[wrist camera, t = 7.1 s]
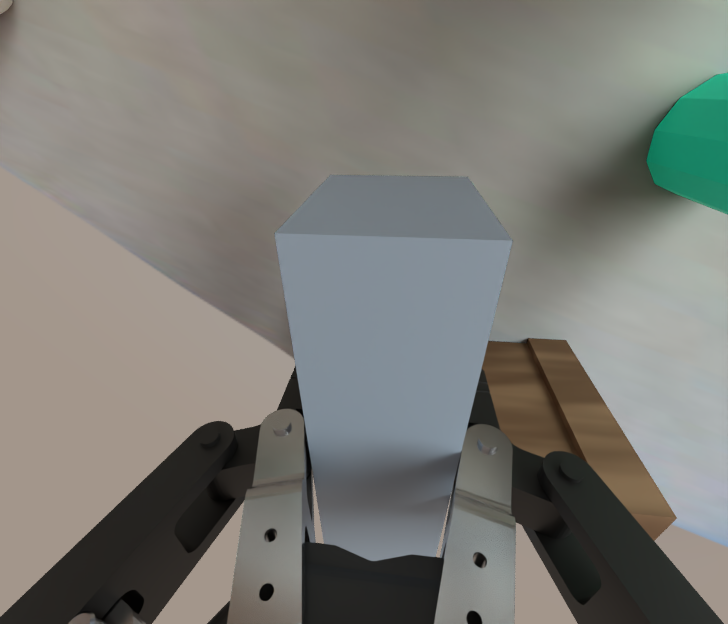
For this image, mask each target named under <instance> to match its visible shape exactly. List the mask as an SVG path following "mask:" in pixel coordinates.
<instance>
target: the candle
mask: <svg viewBox="0 0 728 624" xmlns="http://www.w3.org/2000/svg"><path fill="white" fill-rule="evenodd" d="M646 162H647V165H648V167H649V170H650V173H651V175H652V178H653V181H654V184H656V185H658V186H660V187H662V188H664V189H666V190H668V191H670V192H673V193H675V194H677V195H679V196H682V197H684V198H687V199H689V200H692V201H695V202H697V203H700V204H702V205H705V206H707V207H710V208H712V209H715V210H718V211H720V212H723V213H725V214H728V73H724V74H718V75H715V76H714V77H712V78H711V79H709V80H708V81H706V82H704V83H703V84H701V85H700V86H698V87H697V88H695V89H693V90H692V91H690V92H689V93H687V94H686V95H684V96H682V97H681V98H680V99H679V100H678V101H677V102H676V104H675V105H674V106H673V107H672V109H671V110H670V111H669V112H668V114H667V115H666V116H665V118H664V119H663V120H662V121H661V123H660V124H659V125H658V126H657V128H656V129H655V130H654V134H653V138H652V141H651V145H650V149H649V152H648V156H647V160H646Z"/></svg>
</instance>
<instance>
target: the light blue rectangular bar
mask: <svg viewBox="0 0 728 624" xmlns="http://www.w3.org/2000/svg"><path fill="white" fill-rule="evenodd" d="M274 234H275V240H276V247H277V253H278V259H279V265H280V271H281V278H282V284H283V290H284V296H285V303H286V309H287V315H288V321H289V328H290V334H291V340H292V346H293V353H294V359H295V365H296V371H297V378H298V384H299V390H300V396H301V402H302V409H303V415H304V421H305V427H306V434H307V440H308V446H309V452H310V459H311V465H312V471H313V477H314V483H315V489H316V496H317V502H318V509H319V514H320V521H321V527H322V532H323V539H324V544H329V545H336V546H338V547H340V548H343V549H345V550H347V551H349V552H352V553H354V554H356V555H358V556H361V557H363V558H365V559H367V560H370V561H378V560H384V559H389V558H395V557H400V556H405V555H411V554H413V555H422V556H430V557H436V553H437V549H438V544H439V541H440V537H441V533H442V529H443V524H444V520H445V516H446V512H447V508H448V504H449V500H450V496H451V492H452V488H453V483H454V479H455V475H456V471H457V467H458V463H459V459H460V455H461V451H462V447H463V442H464V438H465V434H466V430H467V426H468V422H469V418H470V414H471V410H472V406H473V402H474V397H475V393H476V389H477V385H478V381H479V377H480V373H481V369H482V365H483V361H484V356H485V352H486V348H487V344H488V340H489V336H490V332H491V328H492V324H493V320H494V316H495V311H496V307H497V303H498V299H499V295H500V291H501V287H502V283H503V279H504V275H505V270H506V266H507V262H508V258H509V254H510V250H511V246H512V242H513V240H512V239H511V237H510V236H509V235H508V233H507V232H506V230H505V229H504V227H503V226H502V225H501V223H500V222H499V220H498V219H497V218H496V216H495V215H494V213H493V212H492V210H491V209H490V208H489V206H488V205H487V203H486V202H485V201H484V199H483V198H482V196H481V195H480V193H479V192H478V191H477V189H476V188H475V186H474V185H473V184H472V182H471V181H470V179H469V178H468V177H451V176H376V175H330V176H329V177H328V178H327V179H326V180H325V181H324V182H323V183H322V184H321V185H320V186H319V187H318V188H317V189H316V190H315V191H314V192H313V193H312V194H311V196H310V197H309V198H308V199H307V200H306V201H305V202H304V203H303V204H302V205H301V206H300V207H299V208H298V209H297V210H296V211H295V212H294V213H293V214H292V215H291V216H290V217H289V218H288V220H287V221H286V222H285V223H284V224H283V225H282V226H281V227H280V228H279V229H278V230H277V231H276V232H275V233H274Z"/></svg>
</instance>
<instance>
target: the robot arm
mask: <svg viewBox="0 0 728 624" xmlns="http://www.w3.org/2000/svg"><path fill="white" fill-rule="evenodd" d="M244 500H245V501H244ZM243 501H244V508H243V515H242V522H241V529H240V536H239V543H238V550H237V557H236V564H235V571H234V578H233V585H232V592H231V599H230V601H229V602H228V603H227V604H226V605H225V606H224V607H223V608H222V609H221V610H220V611H219V612H218V613H217V614H216V615H215V616H214V617H213V618H212V619H211V620H210V621H209V622H208V623H207V624H514V613H515V547H516V546H515V545H516V523H519V524H521V525H522V526H523V528H524V530H525V531H526V533H527V535H528V537H529V539H530V540H531V542H532V544H533V546H534V547H535V549H536V551H537V553H538V554H539V556H540V558H541V560H542V561H543V563H544V565H545V567H546V568H547V570H548V572H549V574H550V575H551V577H552V579H553V581H554V582H555V584H556V586H557V588H558V590H559V591H560V593H561V595H562V596H563V598H564V600H565V602H566V604H567V605H568V607H569V609H570V611H571V612H572V614H573V616H574V618H575V619H576V621H577V623H578V624H724V623H723V622H722V621H721V620H720V619H719V617H718V616H717V615H716V614H715V613H714V612H713V610H712V609H711V608H710V607H709V606H708V605H707V603H706V602H705V601H704V600H703V598H702V597H701V596H700V595H699V594H698V593H697V591H695V589H694V588H693V587H692V586H691V584H690V583H689V582H688V581H687V580H686V578H685V577H684V576H683V575H682V574H681V572H680V571H679V570H678V569H677V568H676V567H675V565H674V564H673V563H672V562H671V561H670V560H669V558H668V557H667V556H666V555H665V554H664V552H663V551H662V550H661V549H660V548H659V546H658V545H657V544H656V543H655V542H654V541H653V539H652V538H651V537H650V536H649V535H648V533H647V532H646V531H645V530H644V529H643V528H642V526H641V525H640V524H639V523H638V522H637V520H636V519H635V518H634V517H633V516H632V515H631V513H630V512H629V511H628V510H627V509H626V507H625V506H624V505H623V504H622V503H621V501H620V500H619V499H618V498H617V497H616V496H615V494H614V493H613V492H612V491H611V490H610V488H609V487H608V486H607V485H606V484H605V483H604V481H603V480H602V479H601V478H600V477H599V475H598V474H597V473H596V472H595V471H594V470H593V468H592V467H591V466H590V465H589V464H588V463H587V462H585V461H584V460H583V459H581V458H580V457H578V456H576V455H574V454H572V453H569V452H565V451H553V452H550V453H549V454H547V455H546V456H545V458H544V457H541V456H538V455H536V454H533V453H530V452H527V451H525V450H522V449H520V448H518V447H517V446H515V445H514V444H512V443H511V442H510V440H509V438H508V437H507V436H506V435H505V434H504V433H503V432H502V431H501V429H500V427H499V423H498V419H497V416H496V412H495V408H494V405H493V401H492V397H491V394H490V390H489V386H488V384H487V379H486V375H485V371H484V370H483V369H481V373H480V377H479V381H478V385H477V389H476V393H475V397H474V402H473V406H472V410H471V414H470V418H469V422H468V426H467V430H466V434H465V438H464V442H463V447H462V451H461V455H460V459H459V463H458V467H457V471H456V475H455V479H454V483H453V488H452V493H451V499H450V505H449V510H448V516H447V522H446V527H445V533H444V539H443V544H442V549H441V555H440V558H437V557H430V556H422V555H413V554H411V555H405V556H400V557H395V558H389V559H384V560H378V561H370V560H367V559H365V558H363V557H361V556H358V555H356V554H354V553H352V552H349V551H347V550H345V549H343V548H340V547H338V546H336V545H329V544H321V543H315V531H314V508H313V506H314V505H313V471H312V465H311V459H310V452H309V446H308V440H307V434H306V427H305V421H304V415H303V409H302V402H301V396H300V390H299V384H298V378H297V371H296V366H295V368H294V371H293V373H292V375H291V379H290V380H289V383H288V385H287V387H286V390H285V392H284V395H283V397H282V400H281V402H280V404H279V407H278V409H277V411H275V412H273V413H271V414H269V415H268V416H267V417H266V418H265V419H264V421H263V422H262V424H261V425H258V426H255V427H250V428H245V429H240V430H236V431H234V430H233V428H232V426H231V425H230V424H228V423H226V422H222V421H215V422H211V423H208V424H205V425H203V426H201V427H200V428H198V429H197V430H196V431H194V432H193V433H192V434H191V435H190V436H189V437H188V438H187V439H186V440H185V441H184V442H183V443H182V444H181V445H180V446H179V447H178V448H177V449H176V450H175V451H174V452H173V453H171V454H170V455H169V456H168V457H167V458H166V459H165V461H163V462H162V463H161V464H160V465H159V466H158V467H157V468H156V469H155V470H154V471H153V472H152V473H151V474H150V475H148V476H147V478H145V479H144V480H143V481H142V482H141V483H140V484H139V485H138V486H137V487H136V488H135V489H134V490H133V491H132V492H131V493H130V494H129V495H128V496H127V497H126V498H124V499H123V500H122V501H121V502H120V503H119V504H118V505H117V506H116V507H115V508H114V509H113V510H112V511H111V512H110V513H109V514H108V515H107V516H106V517H105V518H103V520H101V522H99V523H98V524H97V525H96V526H95V527H94V528H93V529H92V530H91V531H90V532H89V533H88V534H87V535H86V536H85V537H84V538H83V539H82V540H81V541H79V542H78V543H77V544H76V545H75V546H74V547H73V548H72V549H71V550H70V551H69V552H68V553H67V554H66V555H65V556H64V557H63V558H62V559H61V560H59V562H57V563H56V564H55V565H54V566H53V567H52V568H51V569H50V570H49V571H48V572H47V573H46V574H45V575H44V576H43V577H42V578H41V579H40V580H39V581H38V582H37V583H36V584H34V585H33V586H32V587H31V588H30V589H29V590H28V591H27V592H26V593H25V594H24V595H23V596H22V597H21V598H20V599H19V600H18V601H17V602H16V603H15V604H13V605H12V607H10V608H9V609H8V610H7V611H6V612H5V613H4V614H3V615H2V616H1V617H0V624H152V623H153V621H154V620H155V619H156V617H157V616H158V615H159V613H160V612H161V611H162V609H163V608H164V607H165V605H166V604H167V603H168V601H169V600H170V599H171V597H172V596H173V595H174V593H175V592H176V591H177V589H178V588H179V587H180V585H181V584H182V583H183V581H184V580H185V579H186V577H187V576H188V575H189V573H190V572H191V571H192V569H193V568H194V567H195V565H196V564H197V563H198V561H199V560H200V559H201V557H202V556H203V555H204V553H205V552H206V551H207V549H208V548H209V547H210V545H211V544H212V543H213V541H214V540H215V539H216V537H217V536H218V535H219V533H220V532H221V531H222V529H223V528H224V527H225V525H226V524H227V523H228V521H229V520H230V519H231V517H232V516H233V515H234V513H235V512H236V511H237V509H238V508H239V507H240V505H241V504H242V503H243Z"/></svg>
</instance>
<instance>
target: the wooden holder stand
mask: <svg viewBox="0 0 728 624" xmlns="http://www.w3.org/2000/svg"><path fill="white" fill-rule="evenodd" d="M482 369H483V370H484V371H485V375H486V379H487V384H488V386H489V390H490V394H491V397H492V401H493V405H494V408H495V412H496V416H497V419H498V423H499V427H500V429H501V431H502V432H503V433H504V434H505V435H506V436H507V437H508V438H509V440H510V442H511V443H512V444H514V445H515V446H517V447H518V448H520V449H522V450H525V451H527V452H530V453H533V454H536V455H538V456H541V457H544V458H545V456H546V455H547V454H549V453H550V452H553V451H565V452H569V453H572V454H574V455H576V456H578V457H580V458H581V459H583V460H584V461H585V462H587V463H588V464H589V465H590V466H591V467H592V468H593V470H594V471H595V472H596V473H597V474H598V475H599V477H600V478H601V479H602V480H603V481H604V483H605V484H606V485H607V486H608V487H609V488H610V490H611V491H612V492H613V493H614V494H615V496H616V497H617V498H618V499H619V500H620V501H621V503H622V504H623V505H624V506H625V507H626V509H627V510H628V511H629V512H630V513H631V515H632V516H633V517H634V518H635V519H636V520H637V522H638V523H639V524H640V525H641V526H642V528H643V529H644V530H645V531H646V532H647V533H648V535H649V536H650V537H651V538H652V539H653V541H654V540H655V539H656V538H657V537H658V536H659V535H660V534H661V533H662V532H663V531H664V530H665V529H667V528H668V526H670V525H671V524H672V523H673V522H674V521H675V520H676V519H677V517H676V516H675V514H674V513H673V511H672V509H671V508H670V506H669V505H668V503H667V501H666V500H665V498H664V497H663V495H662V493H661V492H660V490H659V489H658V487H657V485H656V484H655V482H654V481H653V479H652V477H651V476H650V474H649V473H648V471H647V469H646V468H645V466H644V465H643V463H642V461H641V460H640V458H639V457H638V455H637V453H636V452H635V450H634V449H633V447H632V445H631V444H630V442H629V441H628V439H627V437H626V436H625V434H624V433H623V431H622V429H621V428H620V426H619V425H618V423H617V421H616V420H615V418H614V417H613V415H612V413H611V412H610V410H609V409H608V407H607V405H606V404H605V402H604V401H603V399H602V397H601V396H600V394H599V393H598V391H597V389H596V388H595V386H594V384H593V383H592V381H591V380H590V378H589V376H588V375H587V373H586V372H585V370H584V368H583V367H582V365H581V364H580V362H579V360H578V359H577V357H576V356H575V354H574V352H573V351H572V349H571V348H570V346H569V344H568V343H567V341H566V340H549V339H531V338H528V341H527V343H511V342H494V341H488V344H487V348H486V352H485V356H484V361H483V365H482Z"/></svg>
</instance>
